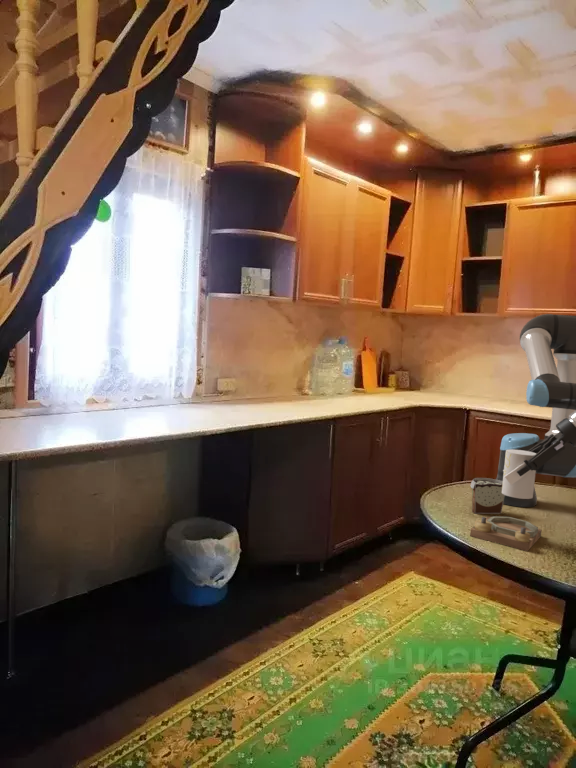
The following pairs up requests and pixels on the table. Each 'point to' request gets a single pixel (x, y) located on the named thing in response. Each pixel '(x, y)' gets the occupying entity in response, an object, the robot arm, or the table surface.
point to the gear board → (507, 531)
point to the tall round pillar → (524, 484)
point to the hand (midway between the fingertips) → (507, 477)
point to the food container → (487, 496)
